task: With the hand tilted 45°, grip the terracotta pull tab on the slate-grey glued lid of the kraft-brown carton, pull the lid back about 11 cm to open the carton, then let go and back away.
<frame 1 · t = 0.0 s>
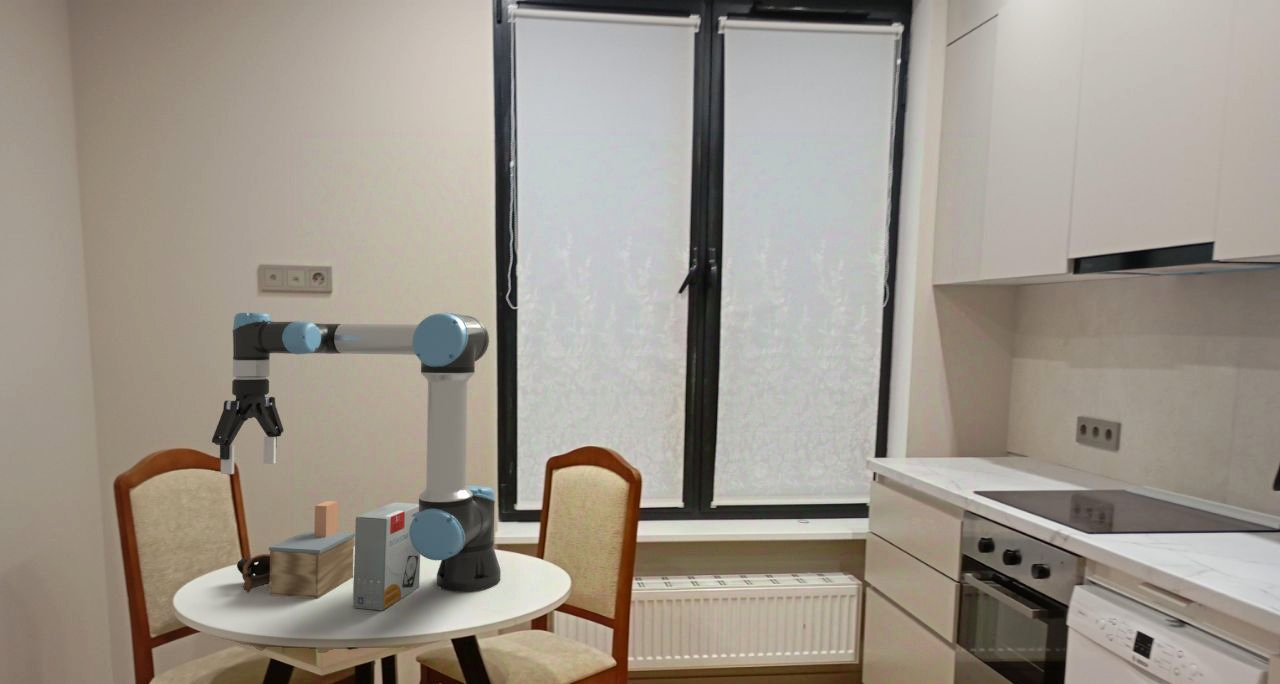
hand: (249, 468, 156), 28 cm above the table, tool pointing down, fingers open, 13 cm apart
hard drive box: (387, 598, 151), on the table
carton: (312, 585, 157), on the table
pottery mug: (258, 586, 157), on the table
lid: (314, 525, 157), point 14 cm above the table, slide at 0.0 cm
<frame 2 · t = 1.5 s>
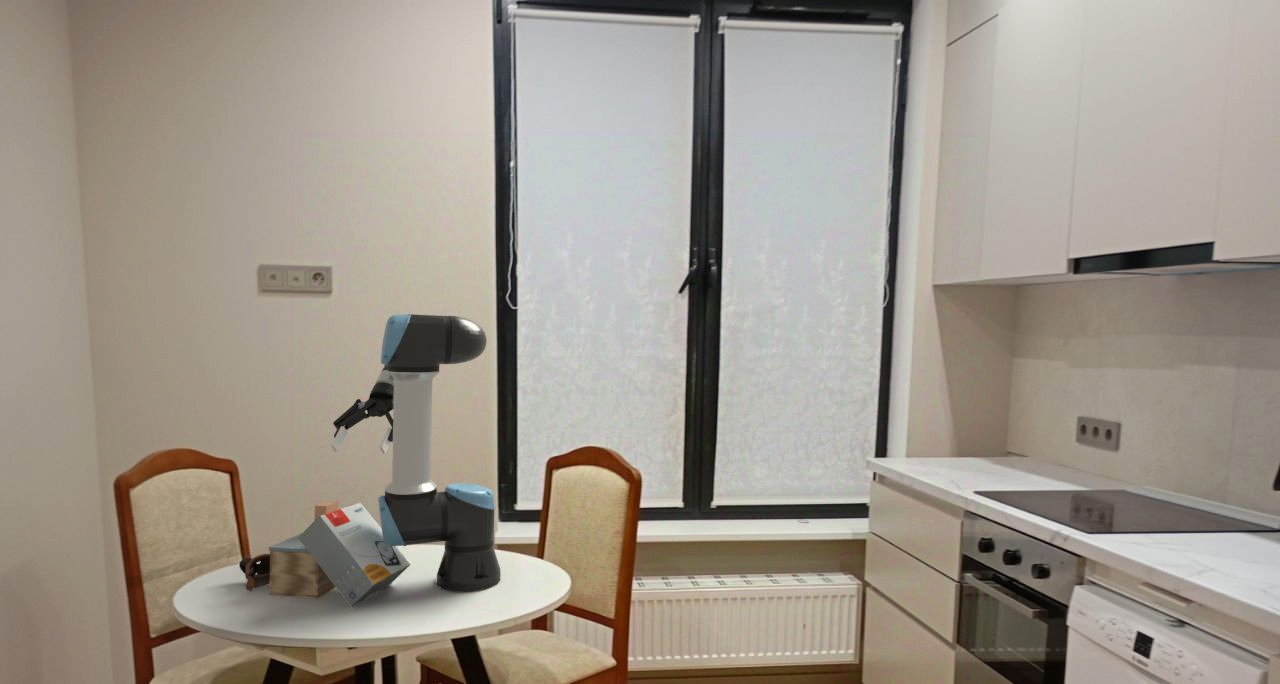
hand: (358, 449, 176), 30 cm above the table, tool tilted 45°, fingers open, 13 cm apart
hard drive box: (383, 585, 151), point 2 cm above the table
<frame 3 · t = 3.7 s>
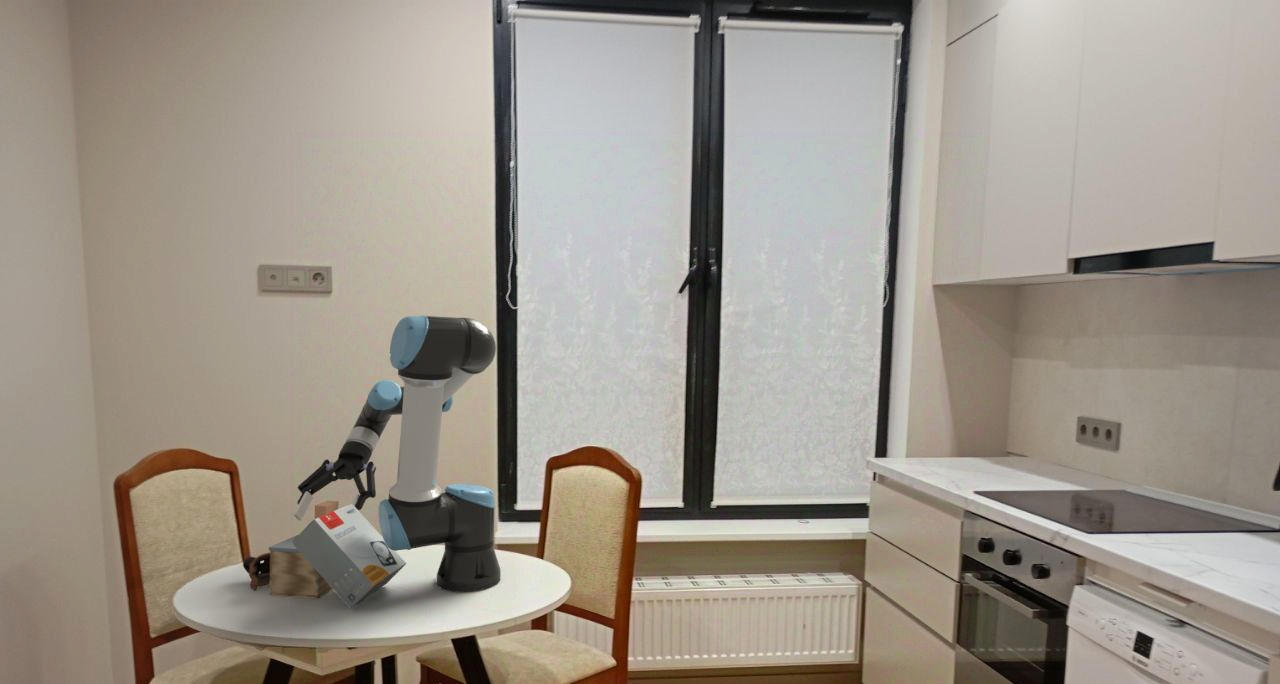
hand: (322, 519, 161), 15 cm above the table, tool tilted 45°, fingers open, 13 cm apart
hard drive box: (381, 586, 150), point 3 cm above the table
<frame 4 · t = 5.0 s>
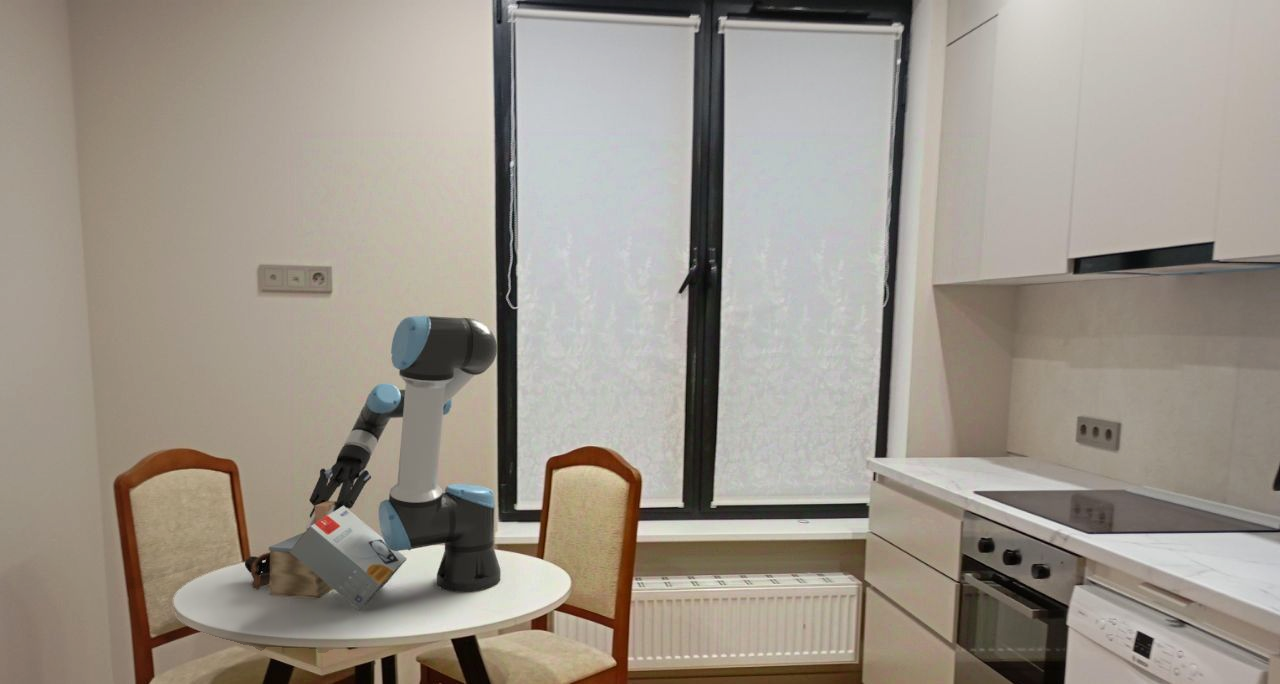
hand: (316, 531, 158), 13 cm above the table, tool tilted 45°, fingers closed on lid, 3 cm apart
hard drive box: (385, 583, 149), point 3 cm above the table, touching lid
lid: (314, 525, 157), point 14 cm above the table, slide at 0.0 cm, touching gripper, hard drive box
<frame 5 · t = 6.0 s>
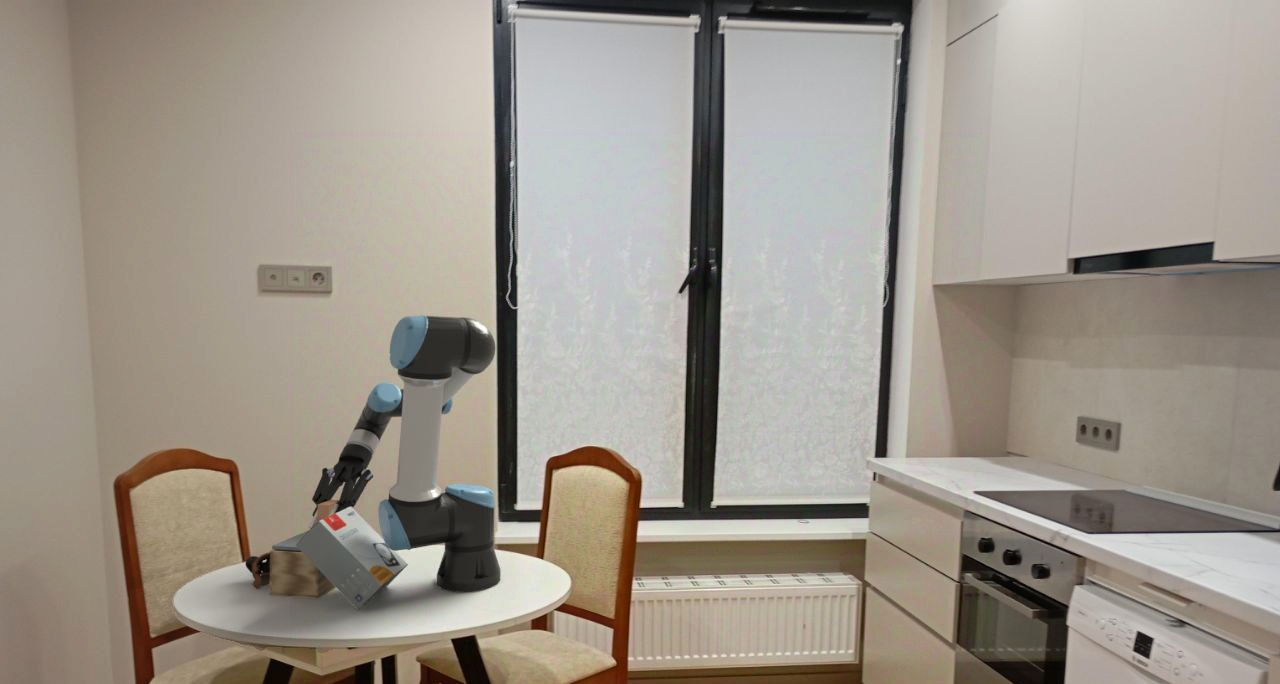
hand: (319, 530, 159), 13 cm above the table, tool tilted 45°, fingers closed on lid, 3 cm apart
lid: (317, 524, 158), point 14 cm above the table, slide at 1.0 cm, touching gripper, hard drive box
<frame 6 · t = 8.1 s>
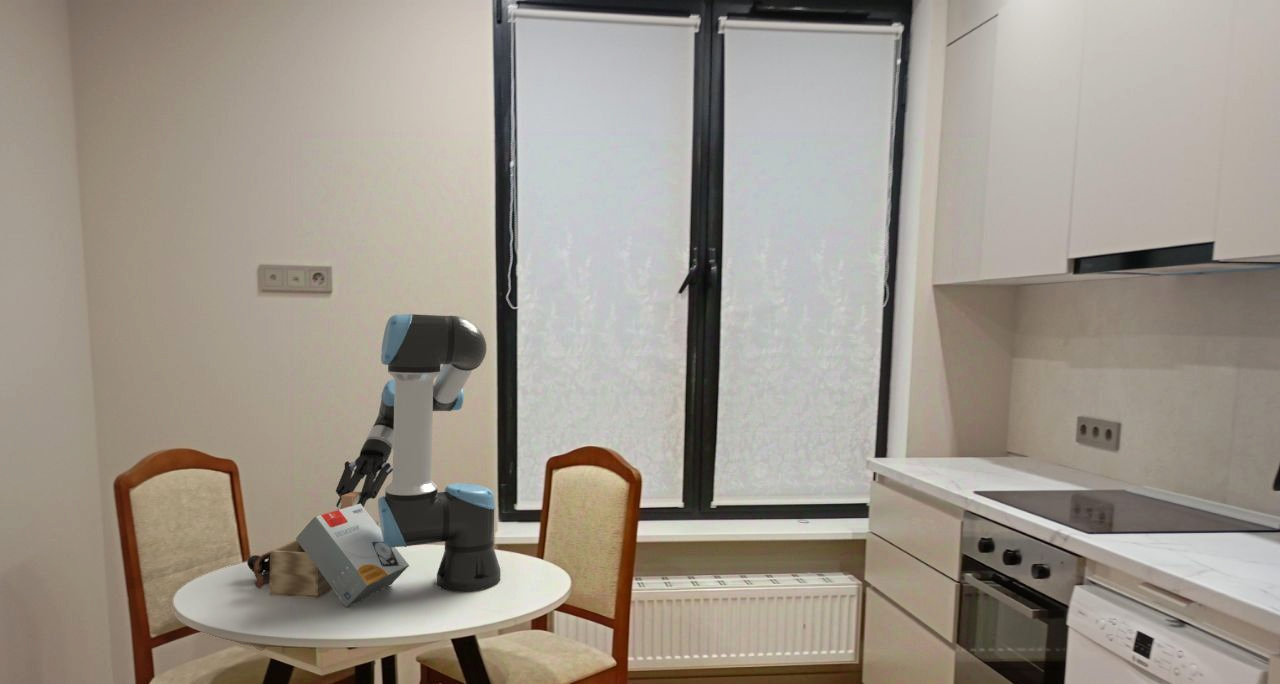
hand: (343, 519, 169), 13 cm above the table, tool tilted 45°, fingers closed on lid, 3 cm apart
hard drive box: (380, 586, 150), point 3 cm above the table, touching carton
lid: (341, 514, 168), point 14 cm above the table, slide at 10.9 cm, touching gripper
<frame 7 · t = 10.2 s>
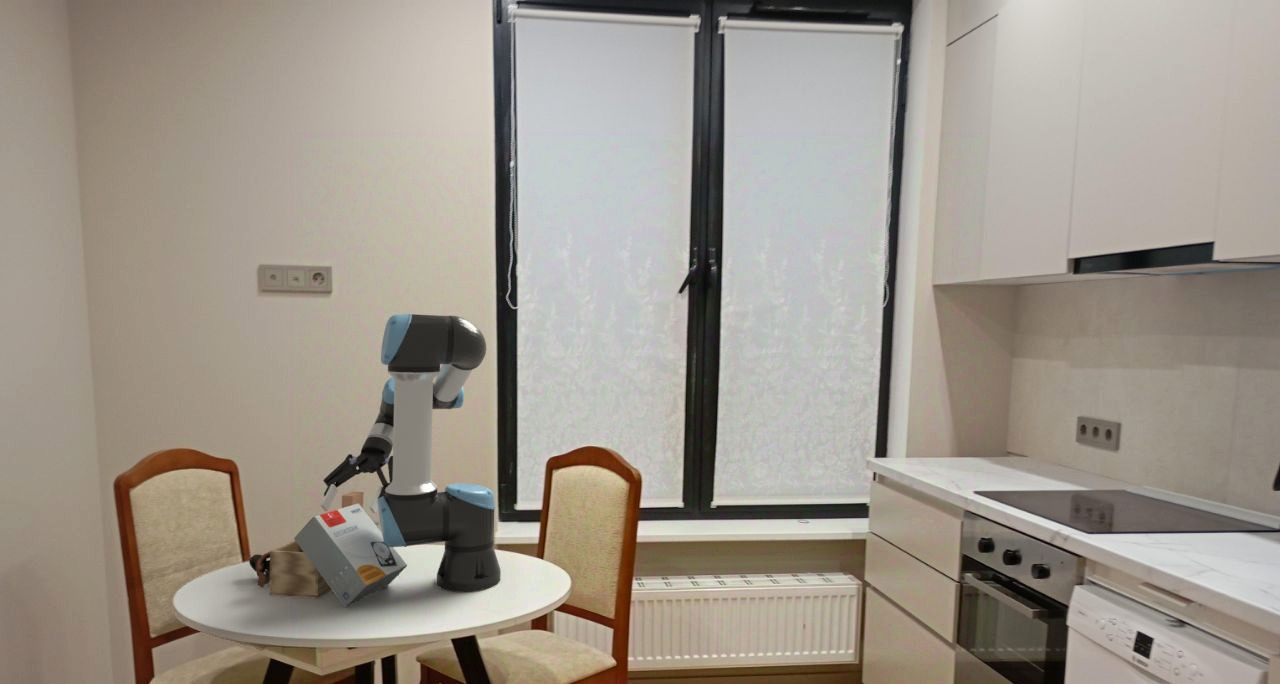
hand: (348, 509, 171), 15 cm above the table, tool tilted 45°, fingers open, 13 cm apart
hard drive box: (379, 586, 150), point 3 cm above the table
lid: (341, 514, 168), point 14 cm above the table, slide at 11.1 cm
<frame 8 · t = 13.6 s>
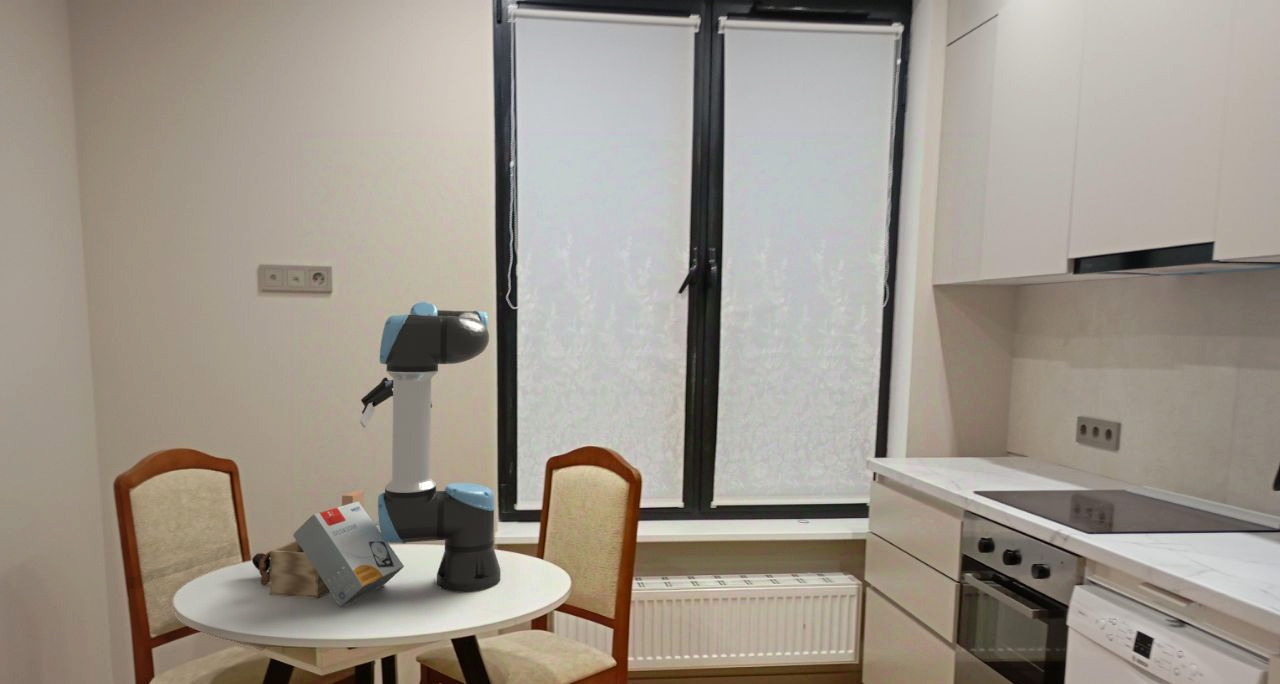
hand: (385, 425, 180), 36 cm above the table, tool tilted 45°, fingers open, 13 cm apart
hard drive box: (375, 586, 150), point 2 cm above the table, touching lid
pottery mug: (274, 580, 161), on the table
lid: (342, 513, 168), point 14 cm above the table, slide at 11.2 cm, touching hard drive box
at the end: lid slide at 11.2 cm; the gripper is holding nothing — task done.
